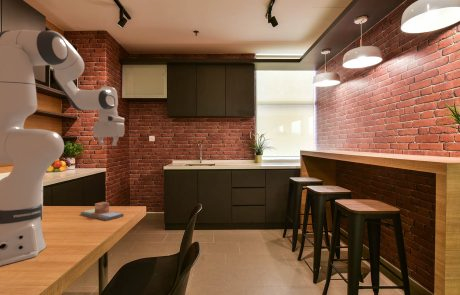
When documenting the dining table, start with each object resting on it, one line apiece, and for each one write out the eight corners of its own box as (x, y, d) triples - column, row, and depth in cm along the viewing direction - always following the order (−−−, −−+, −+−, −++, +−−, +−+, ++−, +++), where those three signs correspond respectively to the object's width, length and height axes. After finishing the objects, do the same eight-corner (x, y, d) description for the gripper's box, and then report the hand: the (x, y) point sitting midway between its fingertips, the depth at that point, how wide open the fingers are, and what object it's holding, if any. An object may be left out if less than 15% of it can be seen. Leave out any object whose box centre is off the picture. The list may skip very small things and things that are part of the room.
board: (107, 220, 117) (107, 217, 117) (80, 214, 127) (80, 211, 127) (123, 216, 125) (123, 213, 125) (97, 210, 135) (97, 208, 135)
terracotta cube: (100, 214, 123) (100, 204, 123) (94, 212, 125) (94, 203, 125) (109, 212, 127) (109, 202, 127) (103, 210, 129) (103, 201, 129)
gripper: (89, 119, 134) (89, 145, 134) (116, 117, 125) (115, 145, 125) (100, 120, 140) (100, 145, 140) (126, 118, 130) (126, 146, 130)
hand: (108, 145), depth 132 cm, fingers open, 8 cm apart
